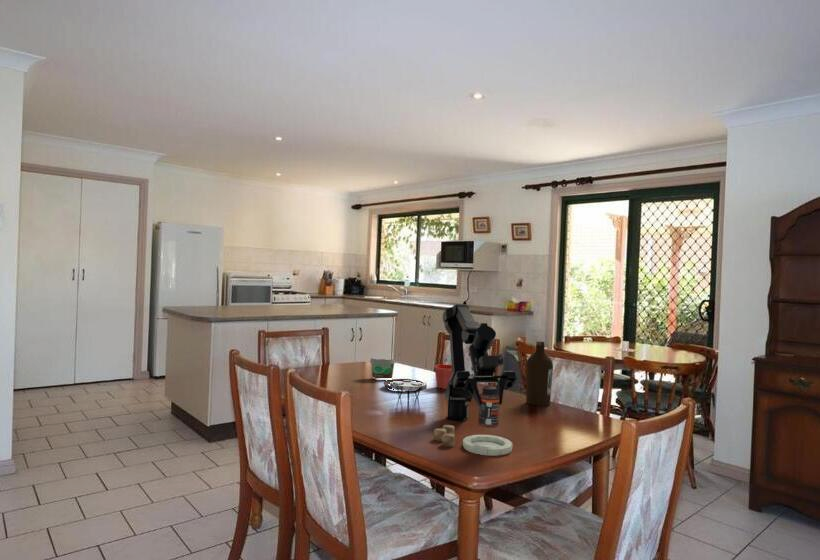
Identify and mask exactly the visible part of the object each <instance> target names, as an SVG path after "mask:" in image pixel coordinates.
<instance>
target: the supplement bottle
mask: <svg viewBox="0 0 820 560" xmlns="http://www.w3.org/2000/svg"><path fill="white" fill-rule="evenodd" d="M496 392H497V388H496V386H492V385H491V386H489V385H486V386H483V387H482V392H481V394H480V393H479V394H480V398H481V405H479V404H478V423H477V424H478V426H480V427H482V428H486V429H487V428H488V429H494V428H497V427H498V426H499V422H500V421H499V420H500V404H499V396H498V395H497V393H496Z"/></svg>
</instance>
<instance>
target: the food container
mask: <svg viewBox="0 0 820 560" xmlns="http://www.w3.org/2000/svg"><path fill="white" fill-rule="evenodd" d="M369 363H371V373H372V374H371V375H372V376H373V377H375V378H392V379H393V375H394V367H395V364H396V359H395V358H392V359H383V358H380V359H378V358H377V359H376V358H373V357H372V356H371V358H370V360H369Z"/></svg>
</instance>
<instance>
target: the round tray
mask: <svg viewBox="0 0 820 560" xmlns="http://www.w3.org/2000/svg"><path fill="white" fill-rule="evenodd" d="M462 445H463V447H462V448H463V449H464V450H465V451H467V452H470V453H472V454H476V455H479V454H480V455H481V456H487V457H488V456H489V457H494V456H495V457H497V456H504V455H508V454H510V453H511V452H512V451H513V450H512V449H513V442H512V441H510V440H509V439H507V438H505V437H501V436H498V435H491V434H472V435H469V436H466V437H464V438H463V440H462Z"/></svg>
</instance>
